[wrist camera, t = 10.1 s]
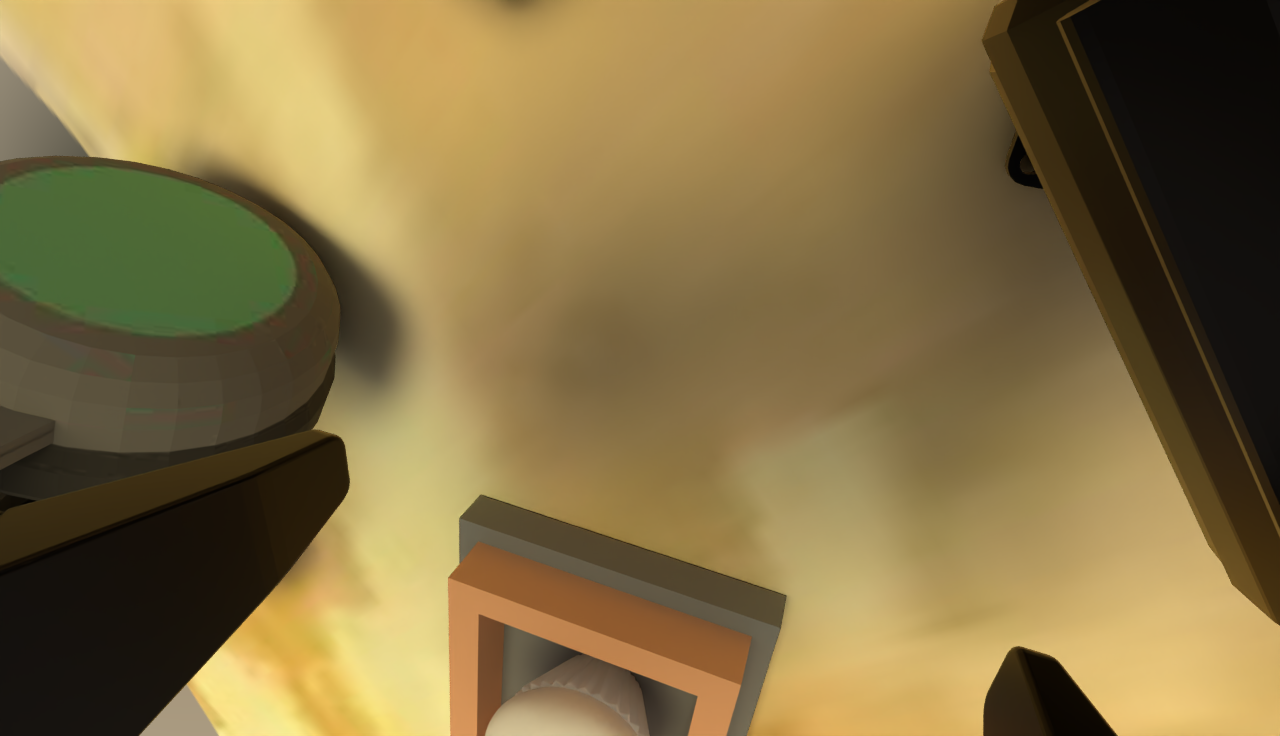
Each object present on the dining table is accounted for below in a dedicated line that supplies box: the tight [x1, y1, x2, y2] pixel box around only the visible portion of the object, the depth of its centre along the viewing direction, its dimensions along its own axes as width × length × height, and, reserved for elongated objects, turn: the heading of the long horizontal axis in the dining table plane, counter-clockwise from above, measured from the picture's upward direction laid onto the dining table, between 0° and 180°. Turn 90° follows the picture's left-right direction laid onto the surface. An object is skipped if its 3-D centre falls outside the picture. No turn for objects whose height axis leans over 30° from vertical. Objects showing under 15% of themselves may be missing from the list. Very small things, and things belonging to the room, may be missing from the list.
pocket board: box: [448, 495, 786, 736], centre depth 26 cm, size 12×12×4 cm
